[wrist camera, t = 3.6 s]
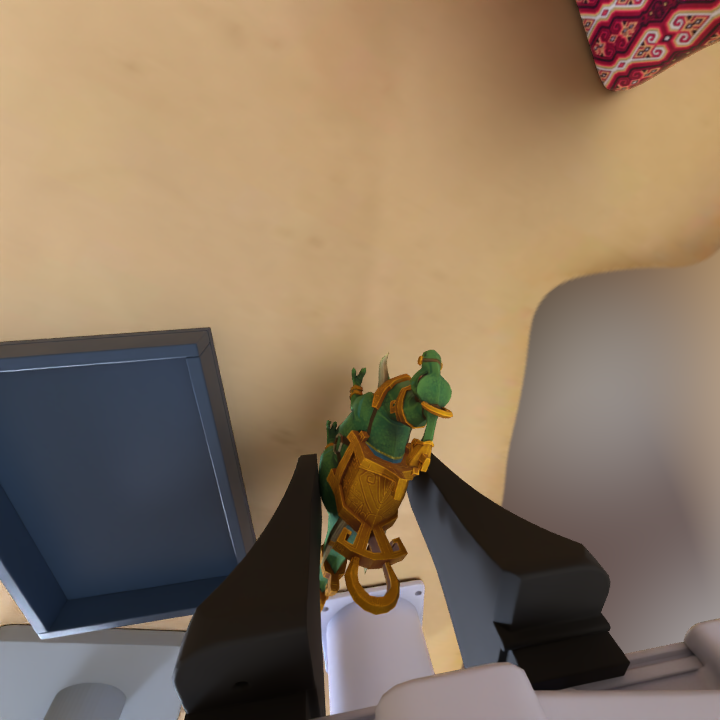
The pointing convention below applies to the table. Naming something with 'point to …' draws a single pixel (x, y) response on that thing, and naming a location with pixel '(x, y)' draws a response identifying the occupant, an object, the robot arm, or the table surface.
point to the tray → (116, 479)
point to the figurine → (376, 475)
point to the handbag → (646, 36)
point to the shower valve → (88, 675)
